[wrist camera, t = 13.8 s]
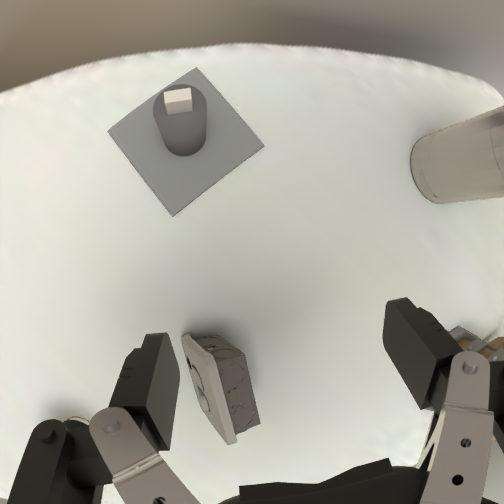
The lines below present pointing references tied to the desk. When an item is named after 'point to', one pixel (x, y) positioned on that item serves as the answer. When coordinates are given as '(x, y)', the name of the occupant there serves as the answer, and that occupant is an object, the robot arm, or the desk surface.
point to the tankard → (478, 348)
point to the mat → (189, 167)
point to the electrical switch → (222, 385)
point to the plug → (181, 118)
